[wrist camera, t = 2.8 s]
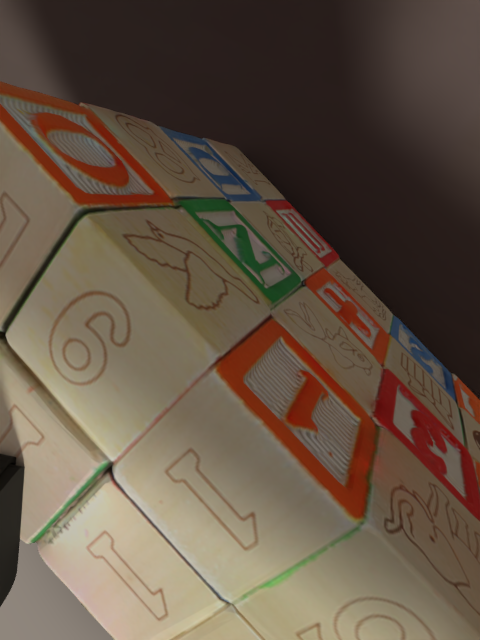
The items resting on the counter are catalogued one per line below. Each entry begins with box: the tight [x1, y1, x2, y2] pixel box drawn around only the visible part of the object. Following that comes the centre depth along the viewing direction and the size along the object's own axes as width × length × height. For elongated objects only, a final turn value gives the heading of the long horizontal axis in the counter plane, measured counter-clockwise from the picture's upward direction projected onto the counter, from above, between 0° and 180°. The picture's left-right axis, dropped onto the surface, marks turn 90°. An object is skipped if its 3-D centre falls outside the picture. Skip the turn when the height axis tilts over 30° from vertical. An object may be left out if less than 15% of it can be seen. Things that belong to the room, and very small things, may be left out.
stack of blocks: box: [0, 81, 480, 640], centre depth 13 cm, size 21×6×12 cm, turn 47°
